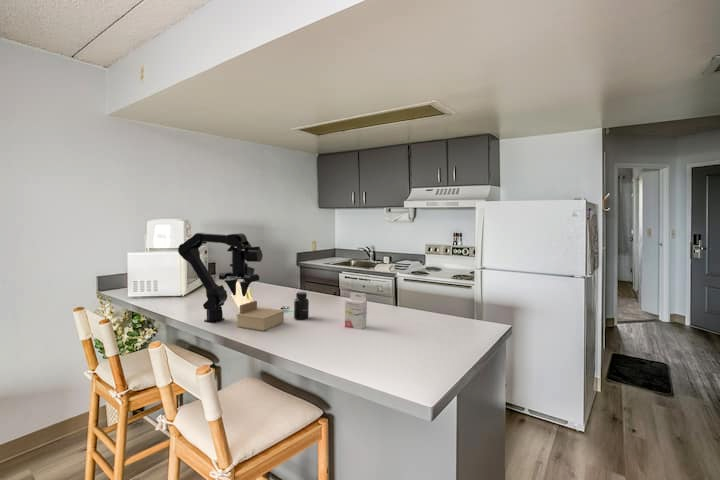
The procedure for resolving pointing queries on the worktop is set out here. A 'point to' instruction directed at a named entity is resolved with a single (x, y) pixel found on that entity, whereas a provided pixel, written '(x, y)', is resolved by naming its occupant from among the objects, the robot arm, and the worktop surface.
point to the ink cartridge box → (356, 311)
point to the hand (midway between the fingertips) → (239, 295)
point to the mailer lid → (257, 311)
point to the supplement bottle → (301, 306)
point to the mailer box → (260, 322)
